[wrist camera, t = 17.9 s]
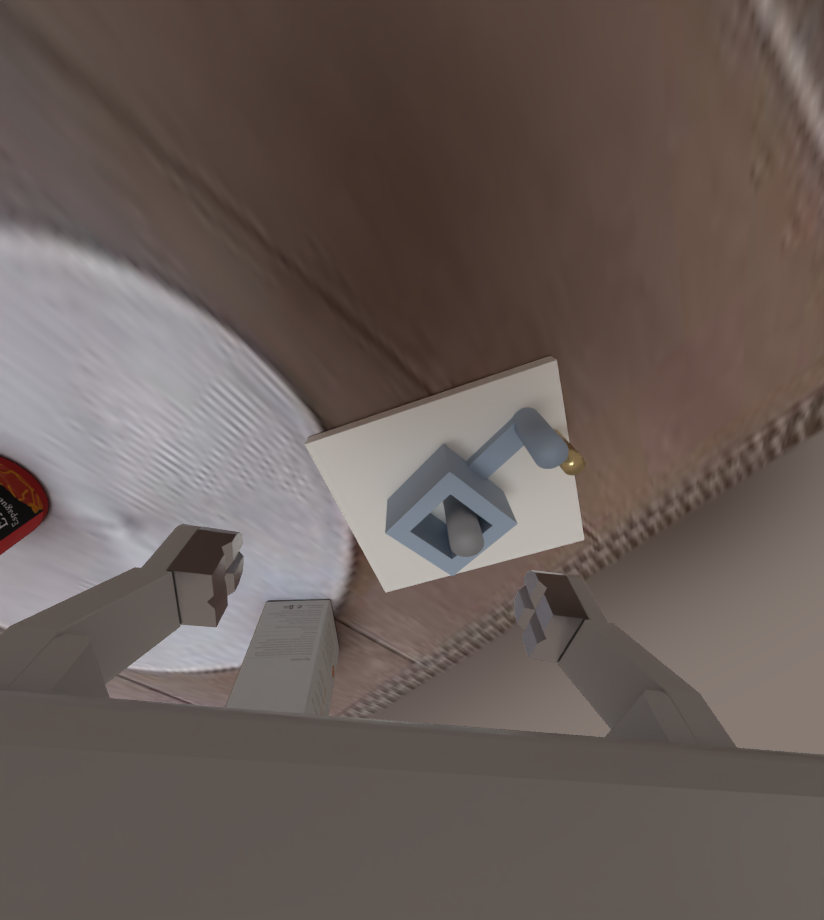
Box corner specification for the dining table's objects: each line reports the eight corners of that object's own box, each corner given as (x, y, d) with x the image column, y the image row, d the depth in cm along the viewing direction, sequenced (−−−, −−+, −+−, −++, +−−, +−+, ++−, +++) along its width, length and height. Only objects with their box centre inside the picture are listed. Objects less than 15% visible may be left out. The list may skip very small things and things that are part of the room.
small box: (265, 599, 35) (199, 762, 24) (331, 598, 35) (297, 759, 24) (281, 652, 39) (231, 813, 28) (340, 650, 39) (315, 810, 28)
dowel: (540, 432, 26) (561, 459, 23) (559, 426, 26) (584, 452, 22) (543, 449, 27) (564, 477, 23) (562, 443, 27) (586, 471, 23)
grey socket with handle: (505, 381, 24) (528, 407, 20) (565, 437, 26) (597, 473, 22) (387, 499, 29) (384, 543, 24) (446, 540, 31) (454, 586, 26)
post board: (308, 437, 27) (282, 486, 21) (550, 355, 25) (596, 385, 19) (386, 582, 35) (382, 648, 29) (578, 530, 32) (617, 591, 26)
